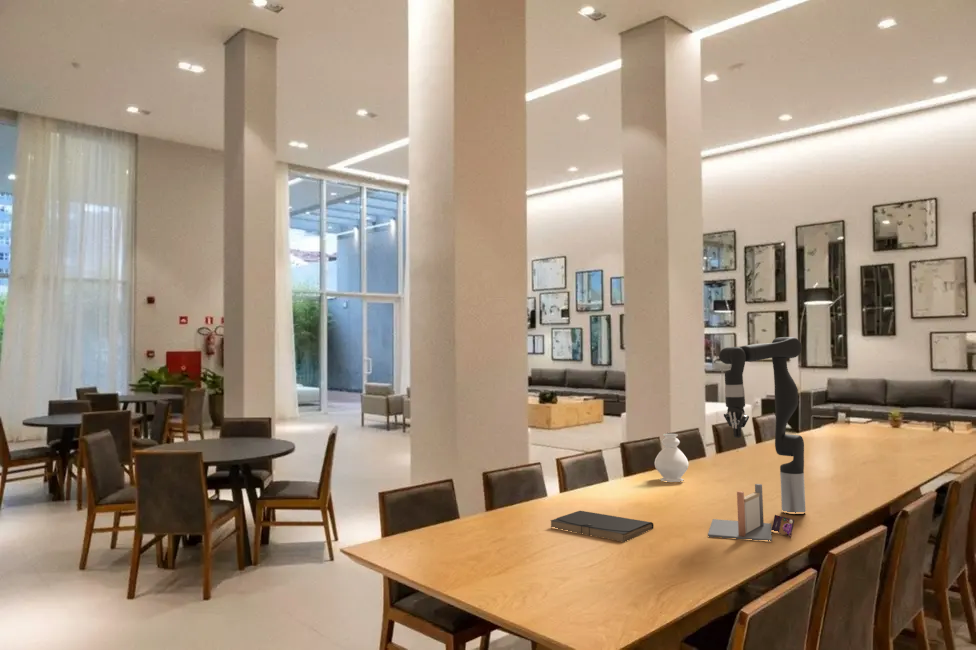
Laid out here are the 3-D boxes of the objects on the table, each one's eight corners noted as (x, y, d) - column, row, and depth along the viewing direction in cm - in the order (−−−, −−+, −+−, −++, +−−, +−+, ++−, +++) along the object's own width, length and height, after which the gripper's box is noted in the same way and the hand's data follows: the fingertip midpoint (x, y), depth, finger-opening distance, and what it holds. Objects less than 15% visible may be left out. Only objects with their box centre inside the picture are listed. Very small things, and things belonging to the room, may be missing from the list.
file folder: (550, 519, 259) (582, 509, 278) (550, 530, 259) (582, 518, 277) (623, 532, 238) (653, 520, 256) (623, 544, 238) (653, 531, 256)
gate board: (712, 521, 265) (711, 479, 266) (771, 526, 256) (769, 482, 257) (707, 536, 243) (706, 491, 244) (771, 542, 234) (769, 495, 235)
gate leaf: (755, 525, 253) (754, 492, 253) (760, 525, 251) (759, 492, 252) (741, 532, 242) (740, 498, 243) (746, 533, 241) (745, 499, 241)
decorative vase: (692, 479, 354) (691, 433, 356) (683, 485, 339) (682, 437, 341) (660, 476, 364) (659, 431, 365) (650, 482, 349) (649, 435, 350)
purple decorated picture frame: (773, 514, 249) (792, 519, 241) (783, 517, 251) (802, 522, 242) (769, 531, 248) (788, 537, 239) (779, 534, 249) (798, 540, 241)
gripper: (753, 395, 262) (756, 438, 261) (731, 393, 274) (733, 434, 274) (738, 397, 259) (741, 440, 259) (716, 395, 272) (719, 436, 271)
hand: (737, 437), depth 266 cm, fingers closed
